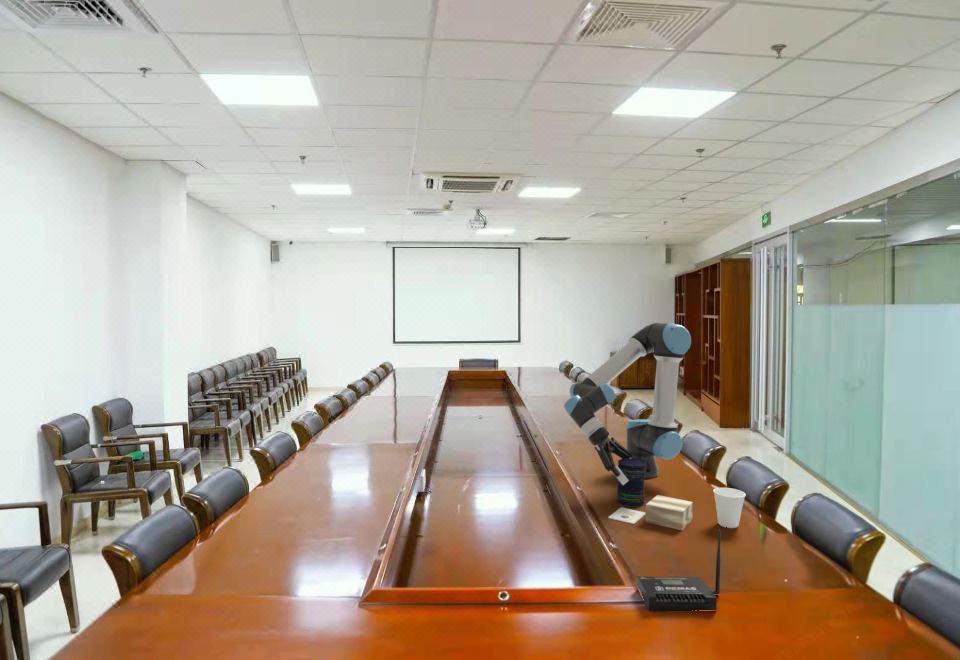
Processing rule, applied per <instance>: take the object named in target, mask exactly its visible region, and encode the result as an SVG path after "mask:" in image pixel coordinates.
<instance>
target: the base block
mask: <svg viewBox="0 0 960 660" xmlns="http://www.w3.org/2000/svg"><path fill="white" fill-rule="evenodd" d="M693 504H694V502H693V501H690V500H689V501H688V500H685V499H680V498H675V497H671V496H670V497H669V496H664V495H659V494H657V495H656V496H654V497H653V498H652V499H651V500H650V501H648V502H647V503H646V504H645V513H646V514H645V521H644V522H645V523H647V524H653V525H656V526H660V527H663V528H664V527H665V528H669V529H673V530H678V531H684V530H685V528H686V527H687V526H688V525H689V524H690V523H691V522H692V521H693V509H694V507H693Z"/></svg>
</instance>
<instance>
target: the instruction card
mask: <svg viewBox="0 0 960 660" xmlns="http://www.w3.org/2000/svg"><path fill="white" fill-rule="evenodd" d="M644 516H646V511H645V512H644V511H640V510H635V509H632V508H631V509H630V508H627V507H626V508H625V507H623V506H622V507H619V508H618V509H617V510H616V511H614V512H613V513H612V514H611V515H609V516H608V517H607V518H608V519H610V520H615V521H619V522H623V523H626V524H632V525H634V524H636V523H637V522H638V521H639V520H641V519H642V518H643V517H644Z"/></svg>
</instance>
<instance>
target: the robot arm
mask: <svg viewBox="0 0 960 660" xmlns="http://www.w3.org/2000/svg"><path fill="white" fill-rule="evenodd" d="M691 344H692V337H691V334H690V332H689V330H688V329H687V328H686V327H685V326H683V325H681V324H677V323H661V322H654V323H650V324H648V325H646V326H644V327H643V328H640V329H639V330H638V331H637V332H636V333H634V334H633V335H632V336H631V337H630V338H628V342H627V343H626V344H625V345H624V346H623V347H621V348H620V349H619V350H618V351H617V352H615V354H613V355H612V356H611V357H609V358H608V359H606V361H605V362H604V363H602V364H601V365H600V366H599V367H597V369H595V370H594V371H593V372H591V373H590V374H589V375H588V376H587V377H586V378H584V379H583V380H581V381H576V382H574V383H572V384H571V385H570V387H569V395H570V398H569V399H567V400H566V402H565V403H564V404H563V408H564V409H565V411H566V413H567V414H568V416H569V417H570V418H571V419H572V420H573V421H574V423H575V424H576V425H577V426H578V428H579V429H580V430H581V432H582V434H584V435H585V436H586V437H587V438H588V440H589V441H590V443H591V444H592V446H594V449H595V451H596V452H597V454H598V456H599V459H600V461H601V463H602V465H603V466H604V469H605V470H606V471H607V472H610V471H611V473H613V475H614V476H615V477H616V479H617V480H619V481H620V483H621V484H622V485H624V484H625V483H627V482H628V481H629V480H628V479H627V478H626V476H625V475H624V474H623V473H622V471H621V470H620V469H619V468H618V465H615V462H614V458H613V454H614V455H616V456H618V457H619V458H620V459H638V460H642V461H644V462H645V479H653V478H657V477H658V476H659V467H658V464H657V461H656V458H658V459H663V460H672V459H674V458H675V457H677V455H678V454H679V453H680V452H681V451H682V448H683V439H682V437H681V435H680V434H679V433H678V427H679V426H678V425H677V423H676V422H675V415H676V403H677V402H676V401H677V392H678V381H679V380H678V379H679V370H680V369H679V368H680V363H681V361H682V360H683V359H684V357H685V356H684V355H685V354H686V353H687V352H688V350H689V349H690V348H691ZM652 352H653V357H654V358H655V360H656V367H655V368H656V369H655V370H656V371H655V382H654V393H653V403H652V413H651V414H652V415H651V419H631V420H629V421H627V424H626V448H625V447H624V446H623V445H622V444H621V443H619V442H618V441H617V440H616V439H615V437H613V436H612V437H611V438H609V436H610V432H609V431H608V430H607V428H606V427H605V426H603V424H602V422H601V421H600V420H599V419H598V417H597V416H596V415H595V413H597V412H598V411H599V410H601V409H603V408H604V407H605V406H607V405H609V404H610V403H611V402H613V401H614V400H615V398H616V393H615V391H614V389H613V387H612V386H611V385H610V384H609V383H611V382H612V381H613V380H614V379H615V378H617V377H618V376H620V375H621V374H622V373H623V372H624V371H625V370H626V369H627V368H629V367H630V366H631V365H632V364H633V363H635V362H636V361H637V360H638V359H640V357H646V356H647V355H648V354H649V353H652ZM656 476H657V477H656Z"/></svg>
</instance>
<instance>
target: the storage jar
mask: <svg viewBox="0 0 960 660" xmlns="http://www.w3.org/2000/svg"><path fill="white" fill-rule="evenodd" d="M617 466H618V468H619V469H620V470H621V471H622V473H623V474H624V475H625V476H626V478H627V479H628V480H629V481H628V482H627V483H625V484H624V485H622V484H621V483H620V481H619V480H618V479H617V480H618V482H617V485H618V486H617V489H616V490H617V491H616V495H617V496H616V497H617V499H616V502H617V503H618V504H619V505H620V506H624V507H629V508H638V507H639V508H640V507H643V506H644V505H645V498H646V493H645V491H646V490H645V479H646V478H645V462H644V461H642V460H638V459H622V458H620V459H618V460H617Z"/></svg>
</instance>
